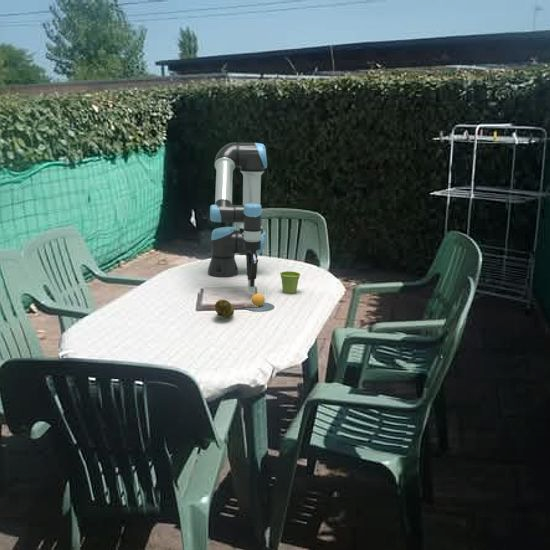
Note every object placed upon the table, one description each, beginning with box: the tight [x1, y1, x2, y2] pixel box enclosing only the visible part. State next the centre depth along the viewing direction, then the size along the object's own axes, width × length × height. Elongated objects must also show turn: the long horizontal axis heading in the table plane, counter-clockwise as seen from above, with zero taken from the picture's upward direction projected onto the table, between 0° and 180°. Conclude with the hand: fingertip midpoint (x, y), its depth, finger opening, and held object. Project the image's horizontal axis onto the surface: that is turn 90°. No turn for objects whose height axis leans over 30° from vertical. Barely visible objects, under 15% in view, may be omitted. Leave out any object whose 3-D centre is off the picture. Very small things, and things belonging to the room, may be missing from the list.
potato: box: [214, 299, 235, 319], centre depth 228 cm, size 8×13×8 cm, turn 158°
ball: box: [251, 293, 266, 306], centre depth 244 cm, size 6×6×6 cm
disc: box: [243, 301, 275, 313], centre depth 244 cm, size 13×13×1 cm
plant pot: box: [279, 270, 301, 295], centre depth 266 cm, size 9×9×9 cm
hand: (251, 293), depth 256 cm, fingers closed
